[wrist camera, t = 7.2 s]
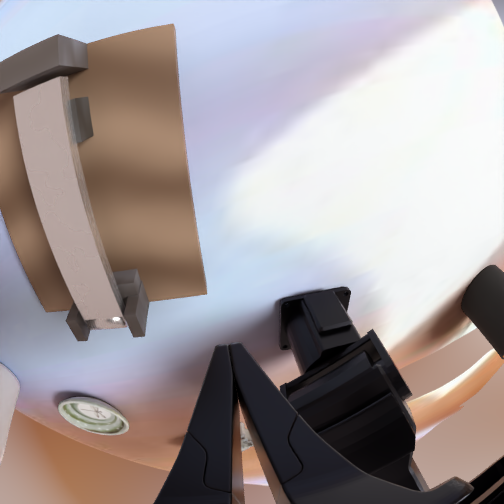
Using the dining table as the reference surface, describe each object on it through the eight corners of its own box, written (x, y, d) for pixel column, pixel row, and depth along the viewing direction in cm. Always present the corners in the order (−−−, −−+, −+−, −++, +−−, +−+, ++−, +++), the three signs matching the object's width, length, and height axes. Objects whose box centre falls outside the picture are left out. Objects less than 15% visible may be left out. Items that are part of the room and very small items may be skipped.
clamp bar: (131, 316, 19) (128, 331, 18) (93, 320, 18) (89, 334, 17) (69, 76, 10) (58, 76, 9) (24, 94, 10) (11, 96, 9)
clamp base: (206, 281, 22) (211, 334, 18) (51, 300, 21) (31, 347, 16) (175, 28, 13) (166, 4, 8) (-12, 92, 11) (-61, 104, 7)
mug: (460, 331, 37) (494, 376, 28) (460, 289, 30) (508, 342, 22) (494, 301, 35) (529, 341, 27) (499, 253, 29) (547, 298, 20)
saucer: (47, 385, 27) (43, 400, 25) (110, 384, 28) (107, 402, 26) (83, 421, 32) (81, 435, 30) (141, 421, 33) (140, 436, 31)
